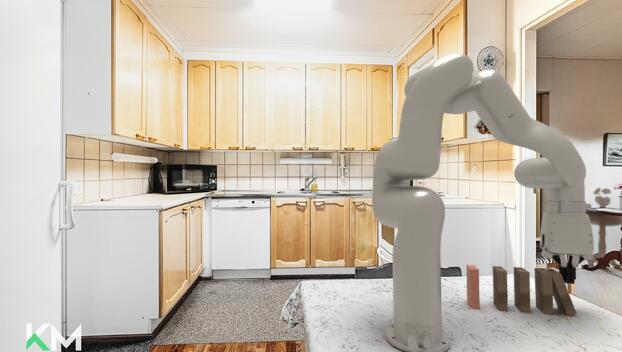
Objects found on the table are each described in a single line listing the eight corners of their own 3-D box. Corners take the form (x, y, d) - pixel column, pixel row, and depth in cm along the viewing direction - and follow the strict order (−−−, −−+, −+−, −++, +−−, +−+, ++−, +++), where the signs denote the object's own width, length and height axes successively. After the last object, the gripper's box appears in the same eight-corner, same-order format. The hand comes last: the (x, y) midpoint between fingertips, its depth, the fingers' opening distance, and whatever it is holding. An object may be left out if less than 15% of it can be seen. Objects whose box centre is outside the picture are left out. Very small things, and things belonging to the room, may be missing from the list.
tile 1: (576, 313, 80) (560, 273, 81) (567, 315, 81) (551, 275, 82) (566, 306, 85) (551, 268, 86) (558, 308, 85) (543, 270, 86)
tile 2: (553, 314, 81) (551, 273, 82) (544, 314, 82) (542, 273, 82) (544, 307, 86) (543, 268, 86) (535, 306, 87) (534, 268, 87)
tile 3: (530, 313, 83) (529, 272, 83) (521, 312, 83) (520, 271, 83) (523, 305, 87) (522, 267, 88) (514, 305, 88) (513, 267, 88)
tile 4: (507, 311, 84) (507, 271, 84) (499, 310, 84) (498, 270, 84) (501, 304, 89) (500, 266, 89) (493, 303, 89) (492, 266, 89)
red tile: (479, 309, 85) (478, 269, 86) (471, 308, 86) (470, 269, 86) (475, 302, 90) (474, 265, 90) (467, 301, 91) (466, 264, 91)
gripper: (592, 207, 85) (594, 280, 85) (526, 207, 89) (527, 276, 88) (610, 209, 78) (613, 289, 77) (537, 209, 82) (539, 284, 81)
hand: (567, 282), depth 83 cm, fingers closed
